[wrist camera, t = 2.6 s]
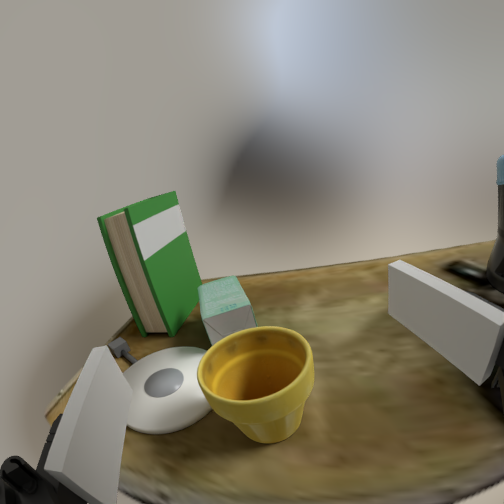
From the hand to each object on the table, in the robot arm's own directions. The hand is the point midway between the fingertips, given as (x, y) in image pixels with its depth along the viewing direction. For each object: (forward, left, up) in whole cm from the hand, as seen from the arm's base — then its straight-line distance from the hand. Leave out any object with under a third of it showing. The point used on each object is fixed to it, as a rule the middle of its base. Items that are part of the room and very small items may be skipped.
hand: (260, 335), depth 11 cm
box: (+25, -18, -19) cm, 36 cm away
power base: (+28, -2, -18) cm, 34 cm away
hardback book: (+41, -17, -19) cm, 49 cm away
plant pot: (+8, -6, -19) cm, 21 cm away
